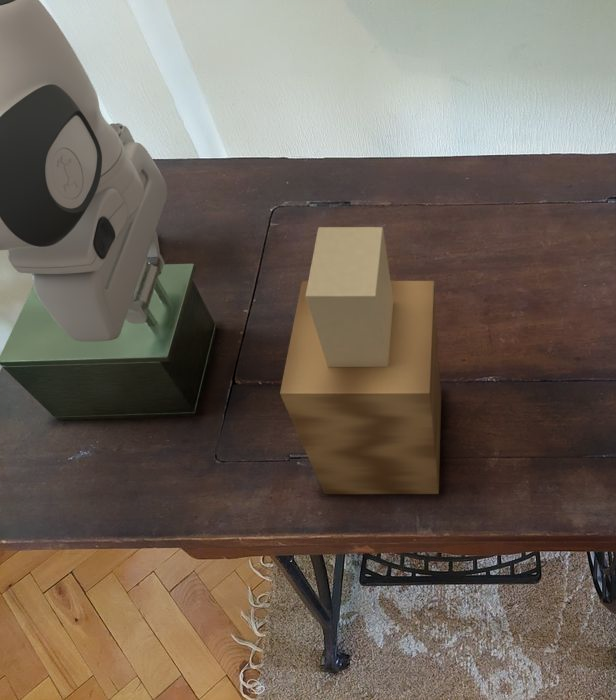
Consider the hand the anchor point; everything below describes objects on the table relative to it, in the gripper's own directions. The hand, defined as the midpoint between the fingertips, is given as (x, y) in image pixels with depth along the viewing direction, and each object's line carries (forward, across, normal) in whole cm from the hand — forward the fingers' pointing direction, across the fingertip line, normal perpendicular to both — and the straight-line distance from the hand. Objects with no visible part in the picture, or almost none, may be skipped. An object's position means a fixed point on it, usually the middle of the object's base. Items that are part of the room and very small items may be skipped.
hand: (148, 293), depth 66 cm
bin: (+14, 0, -6) cm, 15 cm away
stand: (+14, +10, +23) cm, 29 cm away
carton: (-6, +10, +23) cm, 26 cm away
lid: (+3, 0, -6) cm, 7 cm away
